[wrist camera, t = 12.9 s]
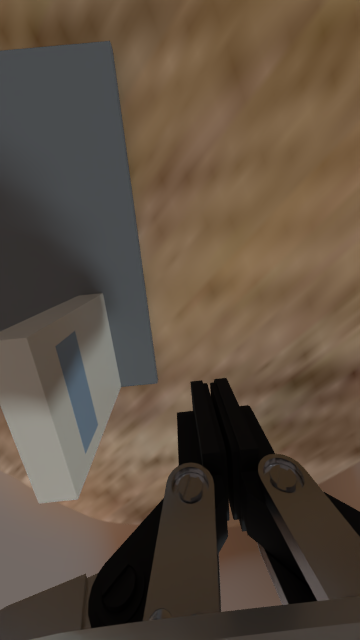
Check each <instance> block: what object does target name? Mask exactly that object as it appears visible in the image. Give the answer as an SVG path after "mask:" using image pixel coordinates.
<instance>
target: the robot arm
mask: <svg viewBox="0 0 360 640" xmlns="http://www.w3.org/2000/svg"><path fill="white" fill-rule="evenodd" d="M210 389H211V395H210V392H209V388H208V385H207V383H204V384H203V382H202V381H192V382H191V393H192V404H193V411H188V412H179V413H177V426H178V455H179V466H178V467H176V468H175V469H174V470H173V471H172V472H171V474H170V475H169V477H168V480H167V483H166V489H165V495H164V498H163V500H162V501H161V502H160V503H159V504H158V505H157V506H156V507H155V508H154V510H153V511H152V512H151V513H150V514H149V515H148V516H147V517H146V519H145V520H144V521H143V522H142V523H141V524H140V525H139V526H138V528H137V529H136V530H135V531H134V532H133V533H132V534H131V535H130V536H129V538H128V539H127V540H126V541H125V542H124V543H123V544H122V545H121V547H120V548H119V549H118V550H117V551H116V552H115V553H114V554H113V555H112V557H111V558H110V559H109V560H108V561H107V562H106V563H105V564H104V566H103V567H102V569H101V570H100V572H99V573H98V574H95V575H93V576H91V577H88V578H87V576H86V574H84V575H81V576H79V577H76V578H74V579H72V580H69V581H67V582H64V583H62V584H59V585H57V586H55V587H52V588H50V589H47V590H45V591H42V592H40V593H38V594H35V595H33V596H30V597H28V598H25V599H23V600H21V601H18V602H16V603H13V604H11V605H8V606H6V607H5V608H3V609H1V610H0V640H360V512H359V511H357V510H356V509H354V508H352V507H350V506H349V505H347V504H345V503H343V502H341V501H339V500H338V499H336V498H334V497H332V496H330V495H328V494H327V493H325V492H323V491H322V490H321V488H320V487H319V486H318V485H317V483H316V482H315V481H314V480H313V478H312V477H311V476H310V475H309V474H308V472H307V471H306V470H305V469H304V468H303V467H302V466H301V465H300V464H299V463H298V462H297V461H295V460H294V459H292V458H290V457H288V456H285V455H281V454H275V453H274V451H273V449H272V447H271V445H270V443H269V441H268V439H267V438H266V436H265V434H264V432H263V430H262V428H261V426H260V424H259V422H258V421H257V419H256V417H255V415H254V413H253V411H252V409H251V408H250V406H248V405H247V406H239V404H238V402H237V400H236V398H235V396H234V394H233V391H232V389H231V387H230V385H229V383H228V380H227V379H226V378H222V379H214V383H210ZM228 498H229V500H228ZM229 503H230V507H231V511H232V515H233V519H234V520H237V519H239V521H240V525H241V529H242V531H247V533H248V535H249V536H250V537H251V538H253V539H254V540H255V541H256V542H258V546H259V550H260V553H261V556H262V558H263V560H264V563H265V564H266V567H267V570H268V572H269V575H270V577H271V579H272V582H273V584H274V586H275V589H276V591H277V593H278V596H279V598H280V601H281V603H282V605H280V606H271V607H261V608H252V609H245V610H244V609H243V610H235V611H226V612H221V596H220V573H219V551H220V550H221V548H222V546H223V544H224V543H225V541H226V539H227V537H228V530H227V521H228V520H229Z"/></svg>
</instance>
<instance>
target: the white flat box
mask: <svg viewBox="0 0 360 640" xmlns="http://www.w3.org/2000/svg"><path fill="white" fill-rule="evenodd" d="M120 388H121V383H120V378H119V373H118V368H117V363H116V358H115V352H114V347H113V342H112V337H111V332H110V327H109V322H108V317H107V312H106V306H105V301H104V296H103V293H99V294H89V295H79V296H76V297H74V298H72V299H70V300H68V301H66V302H63V303H61V304H59V305H57V306H55V307H52V308H50V309H48V310H46V311H44V312H42V313H39V314H37V315H35V316H33V317H31V318H28V319H26V320H24V321H22V322H20V323H18V324H15V325H13V326H11V327H9V328H7V329H4V330H2V331H0V406H1V408H2V411H3V413H4V416H5V419H6V421H7V424H8V426H9V429H10V431H11V434H12V436H13V439H14V441H15V444H16V447H17V449H18V452H19V454H20V457H21V459H22V462H23V464H24V467H25V470H26V472H27V475H28V477H29V480H30V482H31V485H32V487H33V490H34V492H35V495H36V498H37V500H38V503H47V502H57V501H67V500H77V499H78V498H79V495H80V493H81V490H82V487H83V485H84V482H85V480H86V477H87V474H88V472H89V469H90V466H91V464H92V461H93V459H94V456H95V453H96V451H97V448H98V446H99V443H100V440H101V438H102V435H103V432H104V430H105V427H106V425H107V422H108V419H109V417H110V414H111V411H112V409H113V406H114V404H115V401H116V398H117V396H118V393H119V391H120Z"/></svg>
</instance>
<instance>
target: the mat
mask: <svg viewBox="0 0 360 640" xmlns="http://www.w3.org/2000/svg"><path fill="white" fill-rule="evenodd" d="M99 293H103V296H104V301H105V306H106V312H107V317H108V322H109V327H110V332H111V337H112V342H113V347H114V352H115V358H116V363H117V368H118V373H119V378H120V383H121V387H124V386H134V385H145V384H155V383H157V381H158V378H157V370H156V363H155V356H154V348H153V341H152V334H151V327H150V319H149V312H148V305H147V297H146V290H145V283H144V276H143V268H142V261H141V254H140V246H139V239H138V232H137V224H136V217H135V210H134V203H133V195H132V188H131V181H130V173H129V166H128V159H127V152H126V144H125V137H124V130H123V122H122V115H121V108H120V100H119V93H118V86H117V79H116V71H115V64H114V57H113V50H112V47H111V43H110V41H105V42H94V43H83V44H72V45H60V46H49V47H38V48H27V49H16V50H4V51H0V331H2V330H4V329H7V328H9V327H11V326H13V325H15V324H18V323H20V322H22V321H24V320H26V319H28V318H31V317H33V316H35V315H37V314H39V313H42V312H44V311H46V310H48V309H50V308H52V307H55V306H57V305H59V304H61V303H63V302H66V301H68V300H70V299H72V298H74V297H76V296H79V295H89V294H99Z"/></svg>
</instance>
